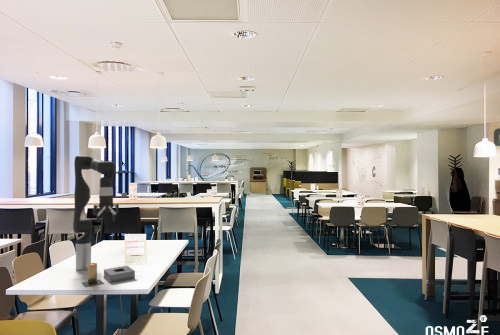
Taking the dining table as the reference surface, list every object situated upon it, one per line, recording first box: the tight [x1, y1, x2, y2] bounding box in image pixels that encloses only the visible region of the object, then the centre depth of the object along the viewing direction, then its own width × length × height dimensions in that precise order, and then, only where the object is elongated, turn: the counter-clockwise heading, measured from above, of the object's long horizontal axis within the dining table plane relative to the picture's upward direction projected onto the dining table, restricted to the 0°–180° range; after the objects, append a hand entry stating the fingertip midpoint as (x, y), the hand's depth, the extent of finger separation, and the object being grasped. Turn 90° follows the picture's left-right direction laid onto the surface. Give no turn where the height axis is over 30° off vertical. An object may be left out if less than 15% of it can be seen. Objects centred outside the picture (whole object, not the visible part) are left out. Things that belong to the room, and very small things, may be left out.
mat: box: [81, 278, 105, 288], centre depth 204 cm, size 10×10×1 cm
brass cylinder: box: [87, 262, 98, 285], centre depth 204 cm, size 5×5×11 cm
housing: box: [103, 265, 136, 284], centre depth 214 cm, size 14×14×5 cm
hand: (106, 221), depth 214 cm, fingers open, 8 cm apart
